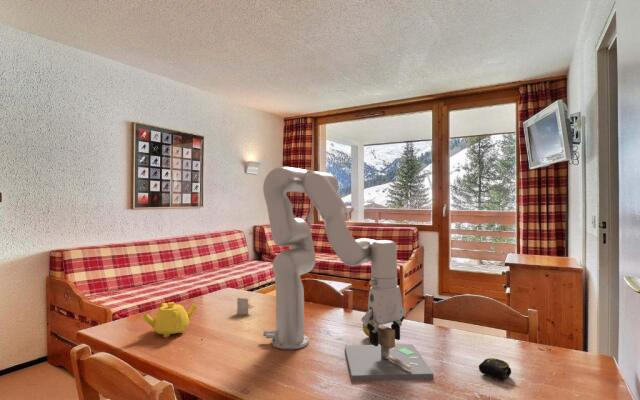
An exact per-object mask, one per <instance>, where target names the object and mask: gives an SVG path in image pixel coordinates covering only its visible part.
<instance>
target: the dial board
mask: <svg viewBox="0 0 640 400" xmlns="http://www.w3.org/2000/svg"><path fill="white" fill-rule="evenodd" d="M344 352H345V357H346V361H347V365H348V370H349V373H350V374H349V375H350V378H351V382H360V381H361V382H363V381H364V382H368V381H369V382H371V381H372V382H373V381H375V382H376V381H409V380H410V381H411V380H412V381H414V380H419V381H420V380H434V377H435V376H434V372H433V371H432V370H431V368H430V366H429V365H428V364H427V362H426V361H425V360H424V358H423V357H422V356H421V354H420V353H419V351H418V349H416V347H415V345H414V344H413V343H407V344H405V343H404V344H403V343H401V344H396V343H395V347H394V348H391V349H389V355H391V356H393V357H395V358H397V359H398V360H400V361H402V362H404V363H406V364H408V365H410V366H411V369H410V370H408V369H406V368H404V367H402V366H400V365H398V364H396V363H395V362H393V361H391V360H389V359H383V358H381V345H380V344H378V346H374V345H372V344H364V345H363V344H357V345H356V344H355V345H344Z"/></svg>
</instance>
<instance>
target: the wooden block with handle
mask: <svg viewBox="0 0 640 400" xmlns="http://www.w3.org/2000/svg"><path fill="white" fill-rule="evenodd" d="M376 332H378V345H381V358H383V359H389V360H391V361H393V362H395V363H396V364H398V365H400V366H402V367H404V368H406V369H408V370H410V369H411V366H410V365H408V364H406V363H404V362H402V361H400V360H398V359H397V358H395V357H393V356H391V355H389V349H391V348H394V347H395V344H396V339H395V330H393V329H391V327H388V326H386V325H385V324H382V325H380V324H379V326H378V329H377V331H376Z"/></svg>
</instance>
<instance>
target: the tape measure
mask: <svg viewBox="0 0 640 400" xmlns="http://www.w3.org/2000/svg"><path fill="white" fill-rule="evenodd" d="M478 371H479V372H480V373H481V374H483V375H485V376H487V377H490V378H493V379H495V380H498V381H499V382H500V381H501V382H504V381H505V380H506V379H509V378H510V376H511V374H512V369H511V367H510V365H509V363H508V362H506V361H504V360H502V359H498V358H493V357H491V358H486V359H484V360H483V361H482V362H481V363H480V364H479V365H478Z"/></svg>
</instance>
